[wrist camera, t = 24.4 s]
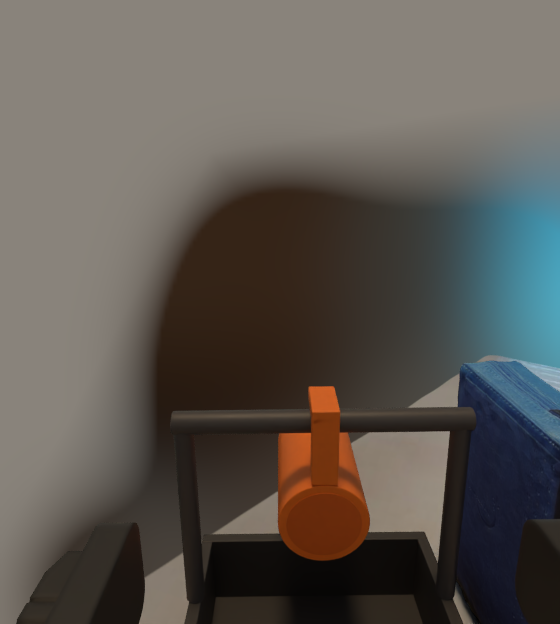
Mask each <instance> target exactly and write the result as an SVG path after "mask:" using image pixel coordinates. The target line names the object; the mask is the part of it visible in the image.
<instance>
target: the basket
mask: <svg viewBox="0 0 560 624" xmlns="http://www.w3.org/2000/svg"><path fill="white" fill-rule="evenodd" d="M170 425H171V426H170V427H171V433H172V434H173V435H174V445H175V457H176V468H177V469H176V470H177V482H178V494H179V505H180V518H181V530H182V543H183V555H184V567H185V579H186V591H187V600H188V601H189V606H188V610H187V615H186V619H185V624H463V622H462V620H461V617H460V615H459V613H458V610H457V608H456V605H455V603H454V601H453V597H454V593H455V584H456V574H457V565H458V555H459V546H460V536H461V527H462V517H463V508H464V498H465V489H466V480H467V470H468V461H469V451H470V442H471V432H472V431H473V430H475V428H476V415H475V412H474V410H473V408H471V407H432V408H363V409H362V408H361V409H360V408H359V409H340V433H349V432H350V433H351V432H425V431H450V437H449V448H448V459H447V470H446V481H445V492H444V503H443V514H442V524H441V535H440V546H439V557H438V563H437V561H436V558H435V556H434V553H433V551H432V549H431V546H430V544H429V542H428V539H427V537H426V535H425V532H368V534H367V536H366V538H365V539H364V541H363V542H362V544H361V545H360V546H359V547H358V548H357V549H356V550H354V551H353V552H351V553H350V554H348V555H346V556H343V557H341V558H338V559H334V560H325V561H321V560H312V559H308V558H305V557H302V556H300V555H298V554H296V553H295V552H293V551H292V550H291V549H290V548H289V547H288V546H287V545H286V544H285V543H284V541H283V539H282V538H281V535H280V534H214V535H204V536H203V541H202V543H201V529H200V516H199V501H198V486H197V472H196V457H195V443H194V435H203V434H273V433H274V434H276V433H277V434H278V433H311V413H310V409H287V410H213V411H173V413H172V415H171V424H170Z"/></svg>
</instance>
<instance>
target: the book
mask: <svg viewBox="0 0 560 624" xmlns="http://www.w3.org/2000/svg"><path fill="white" fill-rule="evenodd" d="M458 407H471V408H473V410H474V412H475V415H476V428H475V430H473V431H472V432H471V442H470V451H469V461H468V470H467V480H466V489H465V498H464V508H463V517H462V527H461V536H460V546H459V555H458V565H457V574H456V581H457V582H458V584H459V585H460V586H461V587H462V592H463V595H464V598H465V600H466V602H467V603H468V604H469V606H470V608H471V611H472V612H473V614H474V615H475V616H476V617H477V618H478V619H479V621H480V624H528V622H527V621H526V619H525V617H524V615H523V613H522V611H521V609H520V606H519V603H518V600H517V596H516V590H515V575H516V568H517V562H518V556H519V549H520V543H521V536H522V530H523V525H524V523H525V522H526V521H527V520H529V519H560V392H559V391H558V390H556V389H555V388H553V387H552V386H550V385H549V384H547V383H546V382H544V381H543V380H542V379H540V378H539V377H537V376H536V375H534V374H533V373H532V372H531V371H529V370H528V369H527V368H526V367H524V366H523V365H522V364H520V363H518V362H517V361H512V362H498V361H486V362H479V363H463V365H462V366H461V368H460V381H459V390H458Z"/></svg>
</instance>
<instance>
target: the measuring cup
mask: <svg viewBox="0 0 560 624" xmlns="http://www.w3.org/2000/svg"><path fill="white" fill-rule="evenodd" d="M308 393H309V395H308V397H309V405H310V413H311V433H280V434H279V440H278V528H279V533H280V535H281V538H282V539H283V541H284V543H285V544H286V545H287V546H288V547H289V548H290V549H291V550H292V551H293V552H295V553H296V554H298V555H300V556H302V557H305V558H308V559H312V560H321V561H325V560H334V559H338V558H341V557H343V556H346V555H348V554H350V553H351V552H353V551H354V550H356V549H357V548H358V547H359V546H360V545H361V544H362V542H363V541H364V539H365V538H366V536H367V534H368V530H369V526H370V517H369V512H368V508H367V504H366V501H365V497H364V493H363V489H362V485H361V481H360V478H359V474H358V470H357V466H356V462H355V458H354V455H353V451H352V447H351V443H350V439H349V436H348V433H340V409H339V405H338V401H337V397H336V393H335V389H334V387H309V392H308Z"/></svg>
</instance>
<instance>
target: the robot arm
mask: <svg viewBox="0 0 560 624" xmlns="http://www.w3.org/2000/svg"><path fill="white" fill-rule="evenodd" d="M515 590H516V596H517V600H518V603H519V606H520V609H521V611H522V613H523V615H524V617H525V619H526V621H527V622H528V624H560V519H529V520H527V521H526V522H525V523H524V525H523V530H522V536H521V543H520V549H519V556H518V562H517V568H516V575H515ZM144 593H145V580H144V571H143V561H142V553H141V544H140V535H139V527H138V525H137V523H99V524H98V525H97V526H96V527H95V529H94V531H93V533H92V534H91V536H90V538H89V540H88V542H87V544H86V546H85V548H84V550H83V551H68V552H67V553H66V554H65V555H64V556H63V557H62V558H60V559H59V560H58V561H57V562H56V563H55V564H54V565H53V566H52V567H51V568H50V569H48V571H46V572H45V574H44V575H43V577H42V579H41V580H40V582H39V584H38V585H37V587H36V589H35V591H34V592H33V594H32V595H31V597H30V602H29V603H27V604H26V605H25V607H24V609H23V610H22V612H21V614H20V615H19V617H18V619H17V623H16V624H139V621H140V617H141V613H142V609H143V603H144Z"/></svg>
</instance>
